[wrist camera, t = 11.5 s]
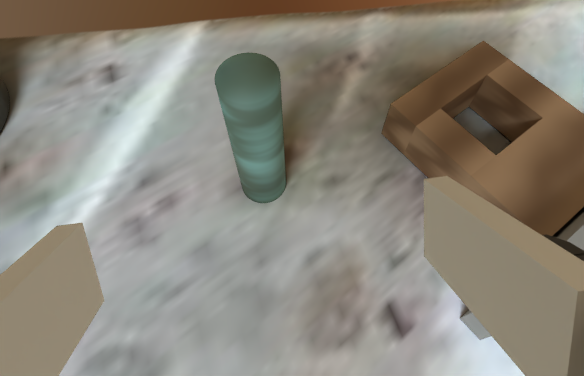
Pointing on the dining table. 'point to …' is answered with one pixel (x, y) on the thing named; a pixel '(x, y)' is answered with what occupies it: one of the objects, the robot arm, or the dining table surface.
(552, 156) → the socket block
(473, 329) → the wall
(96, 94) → the dining table surface
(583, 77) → the dining table surface
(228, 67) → the dowel
